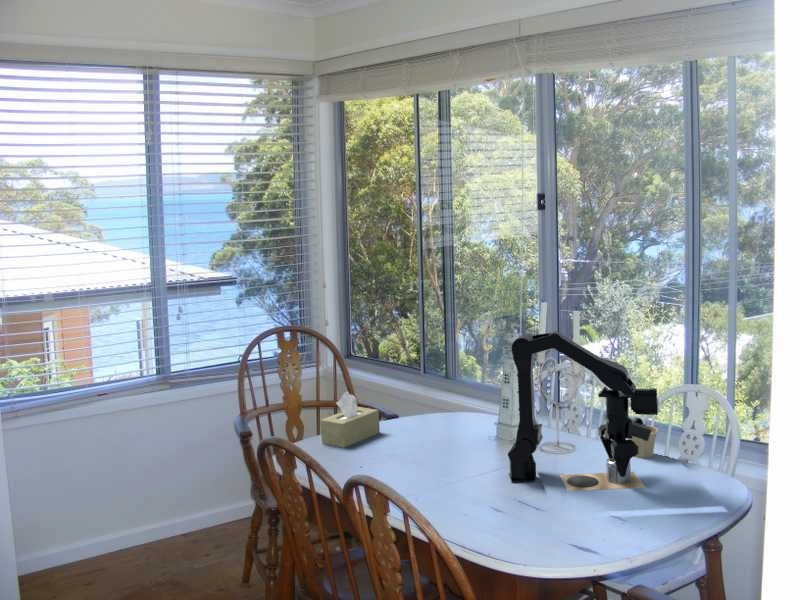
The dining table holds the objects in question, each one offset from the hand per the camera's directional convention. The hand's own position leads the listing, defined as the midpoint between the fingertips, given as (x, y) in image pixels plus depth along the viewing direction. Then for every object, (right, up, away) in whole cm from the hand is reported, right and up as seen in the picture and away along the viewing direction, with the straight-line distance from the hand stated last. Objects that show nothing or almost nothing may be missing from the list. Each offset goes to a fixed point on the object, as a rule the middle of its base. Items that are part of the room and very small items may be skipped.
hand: (618, 470), depth 220 cm
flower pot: (+12, -1, +20) cm, 23 cm away
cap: (0, -3, 0) cm, 3 cm away
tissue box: (-74, -1, +54) cm, 92 cm away
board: (-4, -4, +1) cm, 6 cm away
